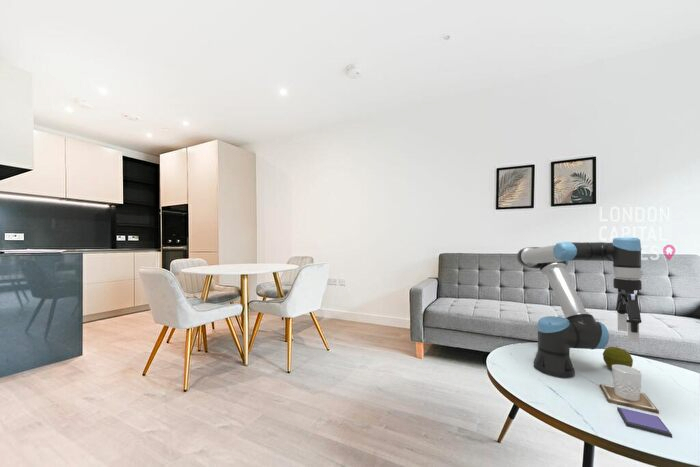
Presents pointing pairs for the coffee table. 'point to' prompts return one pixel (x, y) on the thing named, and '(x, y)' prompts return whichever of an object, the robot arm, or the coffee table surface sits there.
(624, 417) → the ink pad
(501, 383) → the coffee table surface
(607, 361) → the apple
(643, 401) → the brown square coaster
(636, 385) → the white cup
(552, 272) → the robot arm
